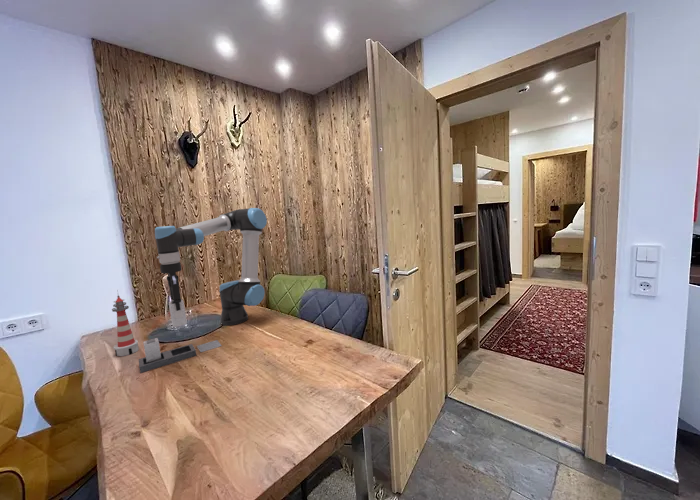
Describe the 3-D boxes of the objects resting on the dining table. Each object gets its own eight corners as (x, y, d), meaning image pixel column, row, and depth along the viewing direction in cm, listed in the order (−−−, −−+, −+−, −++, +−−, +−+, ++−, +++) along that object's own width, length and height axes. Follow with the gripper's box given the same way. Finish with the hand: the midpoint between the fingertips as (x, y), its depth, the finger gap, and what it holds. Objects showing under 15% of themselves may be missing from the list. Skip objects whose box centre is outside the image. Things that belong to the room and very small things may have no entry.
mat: (217, 341, 142) (217, 339, 142) (222, 346, 135) (221, 345, 135) (196, 347, 136) (196, 345, 136) (200, 353, 129) (200, 352, 129)
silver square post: (161, 360, 124) (157, 337, 123) (162, 364, 121) (158, 340, 119) (146, 364, 121) (143, 340, 120) (147, 368, 118) (143, 344, 116)
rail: (192, 349, 134) (191, 343, 133) (196, 356, 127) (195, 350, 126) (139, 365, 122) (138, 359, 121) (140, 374, 114) (139, 367, 114)
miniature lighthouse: (118, 358, 130) (106, 293, 126) (112, 354, 135) (101, 291, 132) (142, 350, 137) (132, 288, 133) (135, 346, 143) (125, 286, 139)
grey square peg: (185, 321, 129) (181, 298, 128) (186, 323, 126) (183, 300, 124) (172, 324, 126) (168, 301, 125) (173, 327, 123) (169, 303, 121)
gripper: (157, 262, 128) (165, 313, 130) (161, 266, 113) (170, 323, 116) (177, 259, 132) (184, 309, 135) (183, 263, 118) (191, 318, 121)
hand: (178, 315), depth 126 cm, fingers closed on grey square peg, 5 cm apart
